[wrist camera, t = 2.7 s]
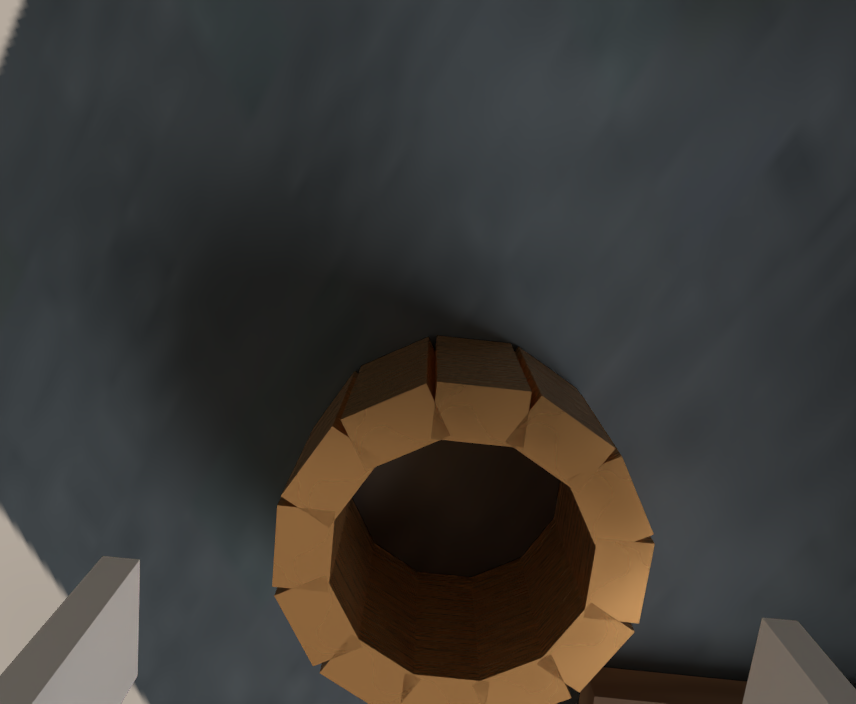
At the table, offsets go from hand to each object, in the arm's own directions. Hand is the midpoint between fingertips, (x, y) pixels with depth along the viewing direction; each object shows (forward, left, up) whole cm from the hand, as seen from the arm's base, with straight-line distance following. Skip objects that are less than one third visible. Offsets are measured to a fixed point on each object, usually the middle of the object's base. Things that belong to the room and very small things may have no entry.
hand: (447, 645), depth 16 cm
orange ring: (0, 0, -8) cm, 8 cm away
